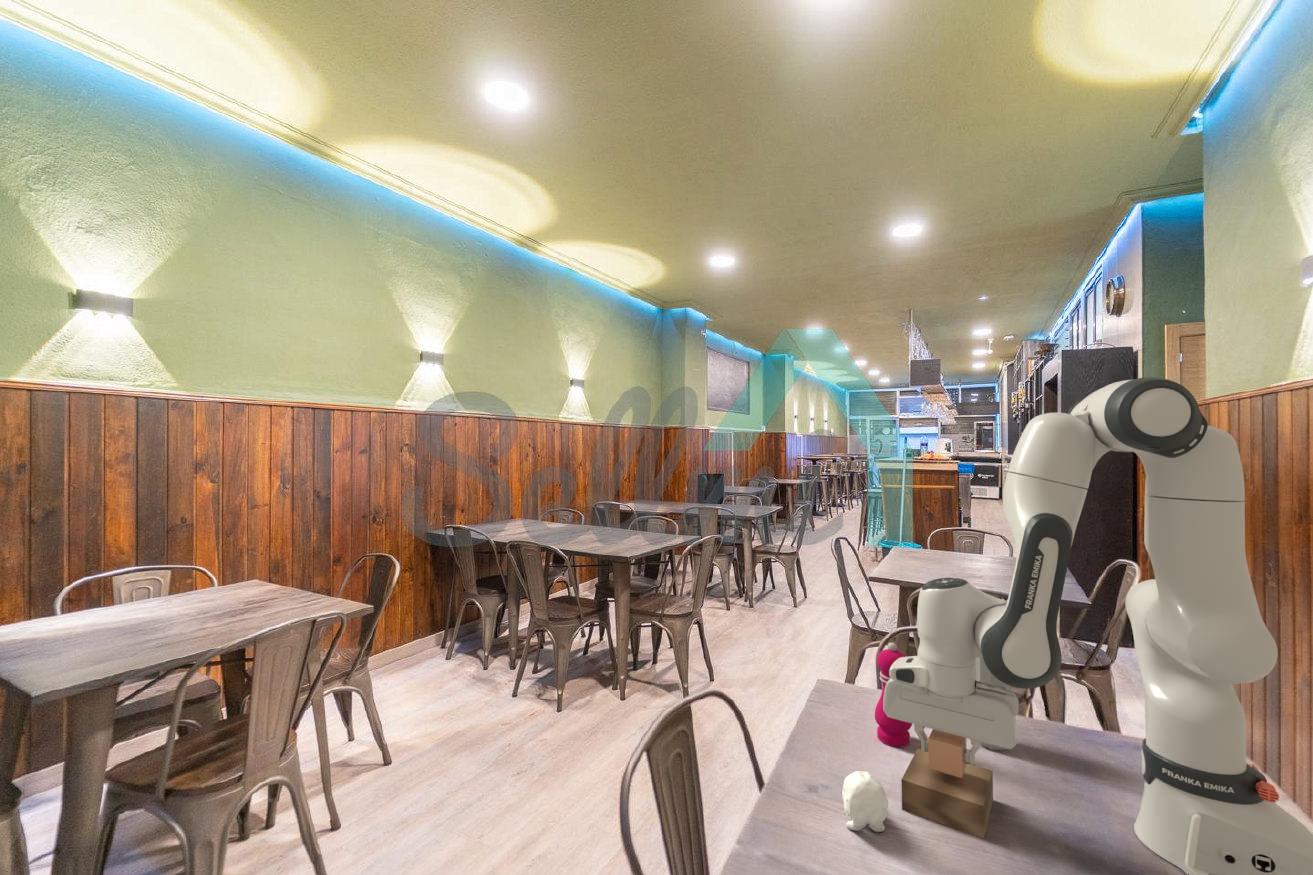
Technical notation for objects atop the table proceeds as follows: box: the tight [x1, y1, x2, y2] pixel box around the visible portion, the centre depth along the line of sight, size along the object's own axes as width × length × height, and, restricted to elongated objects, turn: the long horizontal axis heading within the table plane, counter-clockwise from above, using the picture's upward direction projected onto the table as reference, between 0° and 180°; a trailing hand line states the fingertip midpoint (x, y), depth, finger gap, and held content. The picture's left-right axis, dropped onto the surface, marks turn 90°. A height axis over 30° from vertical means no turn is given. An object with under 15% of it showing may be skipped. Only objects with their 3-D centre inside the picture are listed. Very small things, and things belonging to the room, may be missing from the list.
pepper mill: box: [874, 642, 913, 748], centre depth 118 cm, size 7×7×20 cm
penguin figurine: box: [840, 770, 889, 833], centre depth 93 cm, size 6×8×12 cm
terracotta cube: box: [927, 729, 967, 778], centre depth 96 cm, size 5×5×5 cm
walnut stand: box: [900, 748, 994, 839], centre depth 96 cm, size 12×12×5 cm
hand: (947, 756), depth 96 cm, fingers closed on terracotta cube, 5 cm apart
